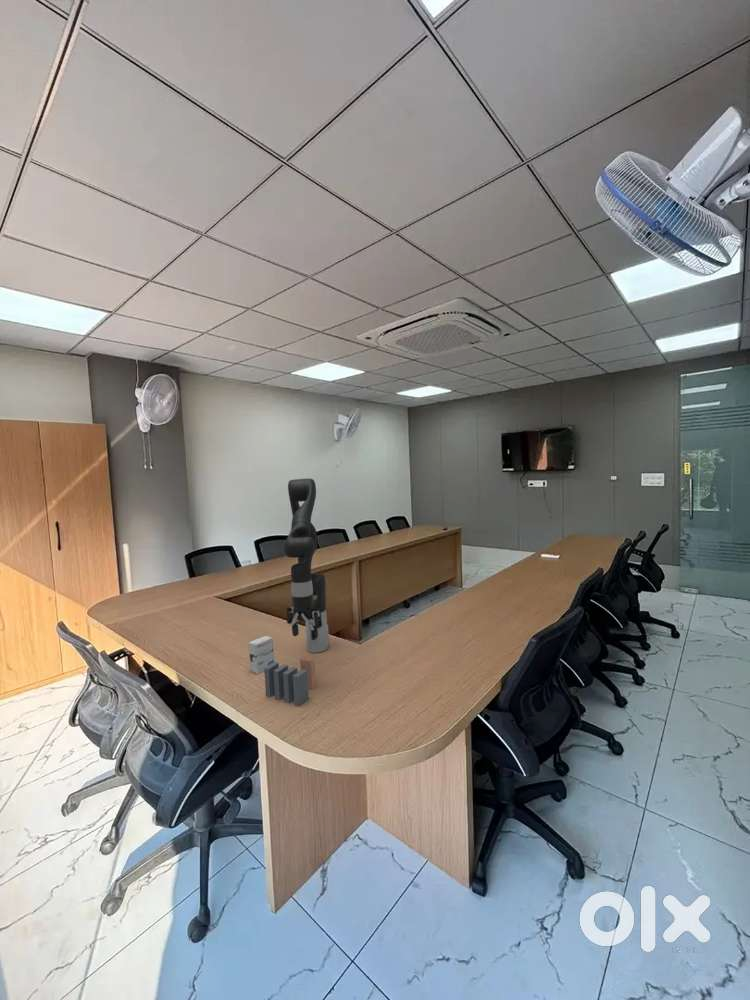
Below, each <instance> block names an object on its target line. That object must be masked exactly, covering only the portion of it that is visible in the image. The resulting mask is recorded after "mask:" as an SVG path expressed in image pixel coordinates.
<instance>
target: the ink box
mask: <svg viewBox="0 0 750 1000" xmlns="http://www.w3.org/2000/svg"><path fill="white" fill-rule="evenodd" d="M248 653H249V654H248V655H249V657H248V658H249V667H250V669H249V670H250V672H251V673H253V674H255V675H259V674H261V673H262V672H264V668H265V667H267V666H269V665H270V664H272V663H274V662H275V652H274V639H273V637H271V636H267V635H264V636H262V637H259V638H256V639H254V640H251V641H249V642H248Z"/></svg>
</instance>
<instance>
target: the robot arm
mask: <svg viewBox="0 0 750 1000" xmlns="http://www.w3.org/2000/svg"><path fill="white" fill-rule="evenodd" d="M287 491H288V498H289V504H290V509H291V513H292V519H291V526H290V527H291V528H290V531H289V534H288V536H287V538H286V539H285V542H284V545H283V551H284V554H285V556H286V557H288V558H292V559H293V558H294V559H295V558H297V563H295V564H292V565H291V567H290V578H291V589H290V590H291V606H288V607H287V608H286V624H289V625H290V627H291V632H292V636H293V637H297V636H298V635H299V633H300V632H299V624H298V623H299V622H304V623H305V640H306V650H307V652H309V653H311V654H312V653H313V654H319V653H323V652H325V651H328V649H329V647H330V636H329V635H330V634H329V624H327V623H328V621H327V600H326V599H327V598H326V597H327V596H326V593H327V591H326V589H327V587H326V578H325V577H326V576H325V575H324V574H323V573H312V560H313V557H314V554H315V553H316V550H317V548H318V543H319V542H318V535H317V534H318V533H317V530H316V527H315V526H314V524H313V523H312V515H313V511H314V507H315V502H316V499H317V485H316V482H315V480H314V479H313V478H298V479H290V480H289V481H288V484H287ZM300 502H303V503H302V505H301V506H300ZM314 596H316V598H315V599H314Z"/></svg>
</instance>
